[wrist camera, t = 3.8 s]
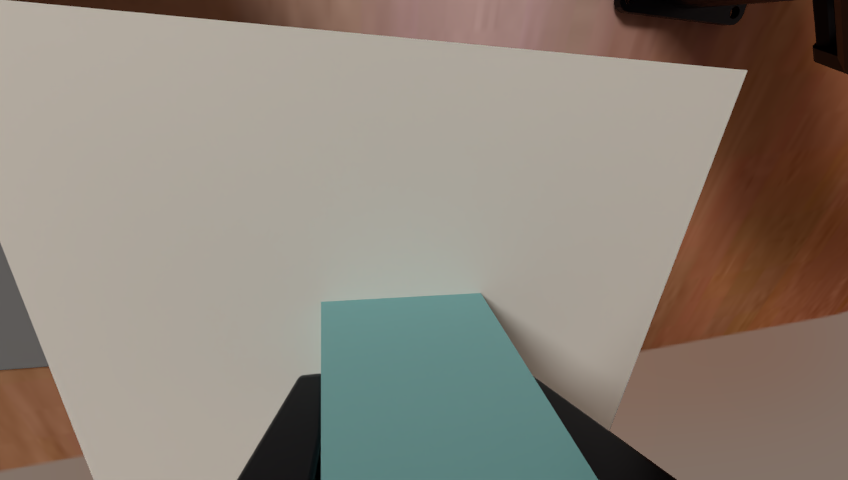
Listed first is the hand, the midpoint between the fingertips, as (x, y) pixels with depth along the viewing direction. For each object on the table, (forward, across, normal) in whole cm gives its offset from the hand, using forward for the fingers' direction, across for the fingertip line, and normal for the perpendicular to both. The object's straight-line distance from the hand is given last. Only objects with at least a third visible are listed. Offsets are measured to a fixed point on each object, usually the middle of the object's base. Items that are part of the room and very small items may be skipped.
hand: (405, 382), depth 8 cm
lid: (+3, 0, 0) cm, 3 cm away
